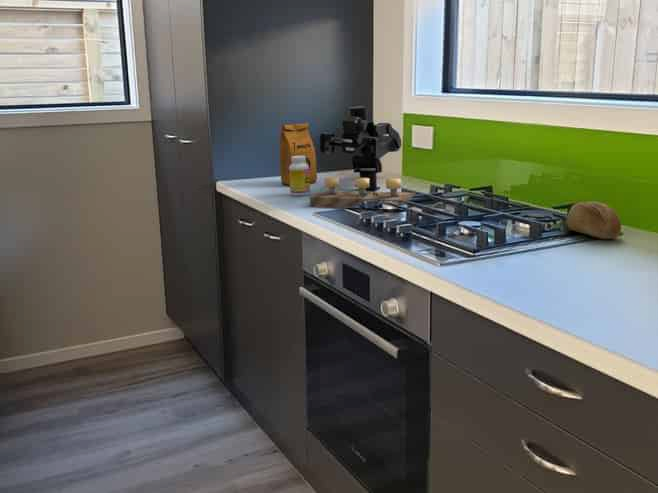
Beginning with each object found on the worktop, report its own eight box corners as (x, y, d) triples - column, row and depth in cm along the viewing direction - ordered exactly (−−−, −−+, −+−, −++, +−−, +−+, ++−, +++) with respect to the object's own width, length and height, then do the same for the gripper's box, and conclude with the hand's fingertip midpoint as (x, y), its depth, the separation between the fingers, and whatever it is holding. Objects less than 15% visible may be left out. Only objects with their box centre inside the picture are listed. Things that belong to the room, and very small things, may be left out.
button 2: (389, 195, 209) (388, 178, 208) (403, 195, 208) (402, 178, 206) (384, 197, 205) (384, 180, 204) (398, 198, 204) (398, 181, 202)
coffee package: (320, 183, 253) (317, 122, 247) (290, 187, 247) (286, 125, 241) (308, 180, 261) (305, 121, 256) (278, 184, 255) (274, 124, 250)
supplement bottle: (307, 196, 229) (305, 157, 225) (288, 196, 230) (286, 158, 227) (312, 192, 235) (310, 155, 232) (293, 193, 236) (291, 155, 233)
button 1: (328, 193, 217) (328, 177, 216) (341, 193, 215) (341, 177, 214) (323, 195, 213) (322, 179, 212) (336, 196, 212) (335, 179, 210)
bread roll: (596, 244, 155) (598, 210, 153) (554, 231, 169) (556, 199, 167) (631, 239, 158) (633, 205, 156) (587, 226, 172) (588, 195, 170)
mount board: (310, 206, 212) (309, 196, 211) (325, 199, 222) (325, 190, 222) (404, 210, 200) (403, 200, 199) (415, 202, 211) (415, 192, 210)
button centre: (358, 194, 213) (357, 177, 212) (371, 194, 212) (371, 177, 210) (353, 196, 209) (352, 180, 208) (366, 197, 208) (366, 180, 206)
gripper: (329, 112, 222) (310, 121, 209) (385, 117, 216) (369, 126, 202) (329, 146, 226) (310, 157, 213) (384, 152, 220) (368, 164, 206)
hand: (339, 150), depth 208 cm, fingers open, 9 cm apart
